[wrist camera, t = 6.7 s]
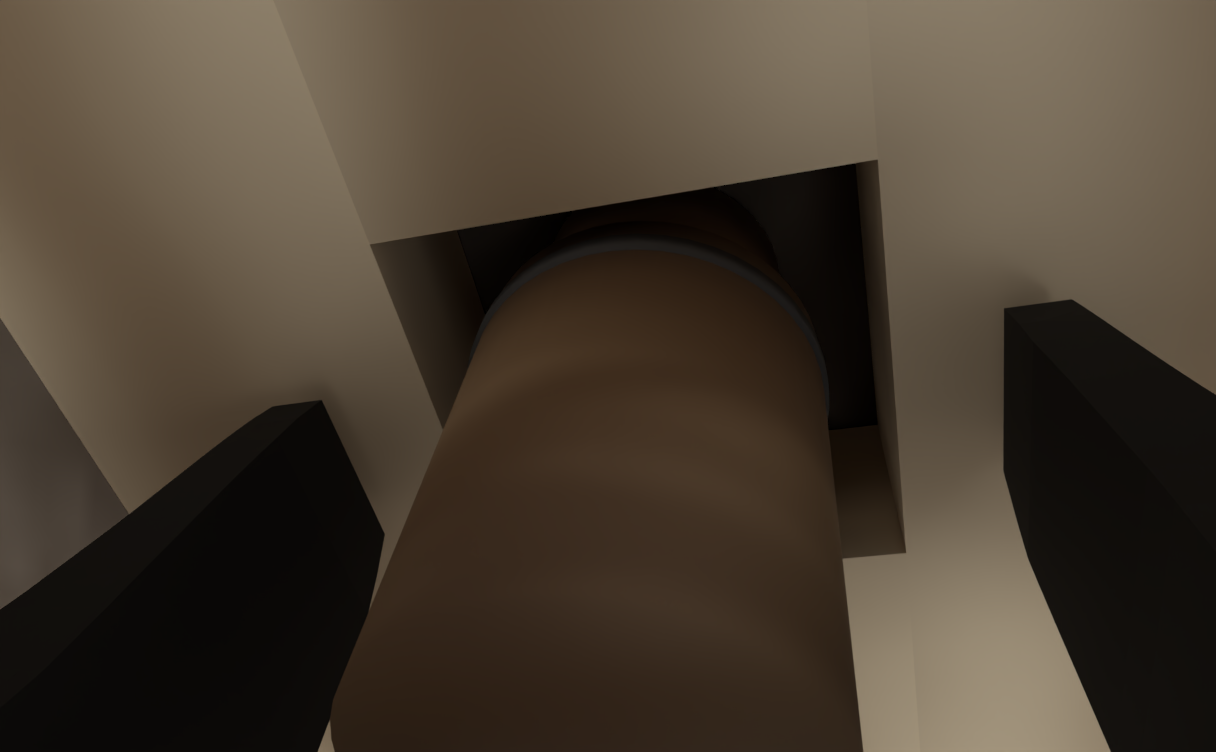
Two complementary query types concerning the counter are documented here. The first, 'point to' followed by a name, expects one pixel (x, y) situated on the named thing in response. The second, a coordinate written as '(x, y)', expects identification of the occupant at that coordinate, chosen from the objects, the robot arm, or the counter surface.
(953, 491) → the board
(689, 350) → the peg
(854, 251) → the counter surface
